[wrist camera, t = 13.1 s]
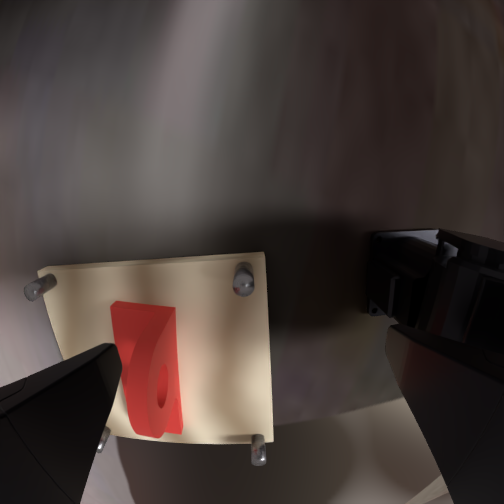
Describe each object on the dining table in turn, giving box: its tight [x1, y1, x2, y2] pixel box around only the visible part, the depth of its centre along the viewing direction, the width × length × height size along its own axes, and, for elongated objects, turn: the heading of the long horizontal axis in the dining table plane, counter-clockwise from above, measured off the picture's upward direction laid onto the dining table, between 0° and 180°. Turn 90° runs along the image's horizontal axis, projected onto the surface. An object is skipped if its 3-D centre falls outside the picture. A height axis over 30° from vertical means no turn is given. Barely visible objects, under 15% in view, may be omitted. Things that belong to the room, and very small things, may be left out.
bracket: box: [110, 301, 183, 439], centre depth 17 cm, size 12×4×8 cm, turn 176°
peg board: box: [24, 252, 273, 466], centre depth 20 cm, size 18×18×4 cm
